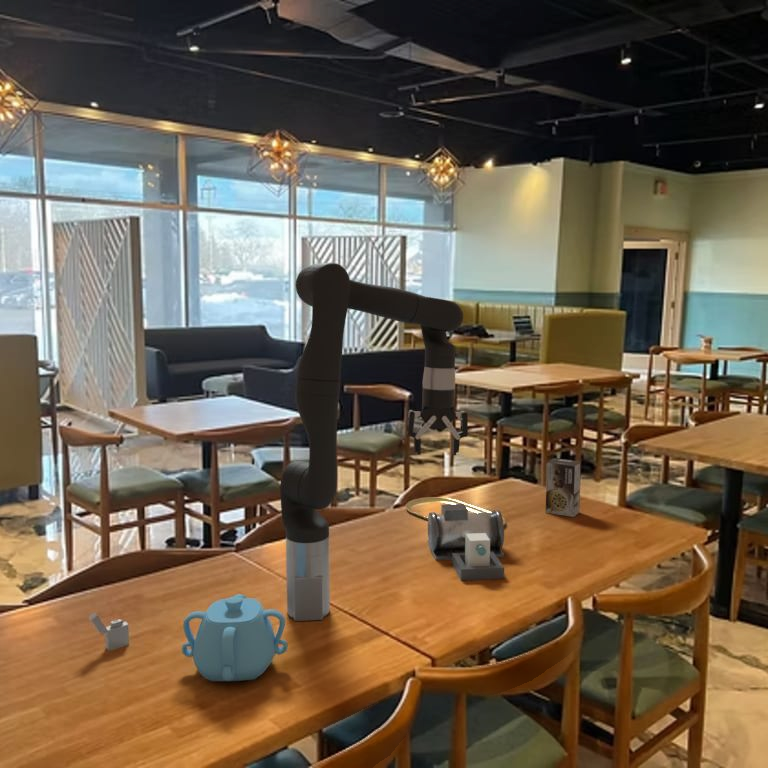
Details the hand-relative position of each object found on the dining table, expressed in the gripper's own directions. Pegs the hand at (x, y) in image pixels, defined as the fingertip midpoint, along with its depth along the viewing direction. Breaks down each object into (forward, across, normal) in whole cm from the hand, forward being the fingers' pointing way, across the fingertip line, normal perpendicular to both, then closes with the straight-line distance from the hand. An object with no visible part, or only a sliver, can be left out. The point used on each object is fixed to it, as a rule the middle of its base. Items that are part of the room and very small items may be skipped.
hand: (436, 454), depth 178 cm
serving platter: (+30, +14, +46) cm, 56 cm away
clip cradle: (+30, +12, +5) cm, 33 cm away
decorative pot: (+33, -43, -37) cm, 66 cm away
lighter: (+34, -68, -28) cm, 81 cm away
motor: (+30, +12, +18) cm, 37 cm away
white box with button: (+29, +12, +3) cm, 32 cm away
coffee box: (+28, +48, +46) cm, 73 cm away
